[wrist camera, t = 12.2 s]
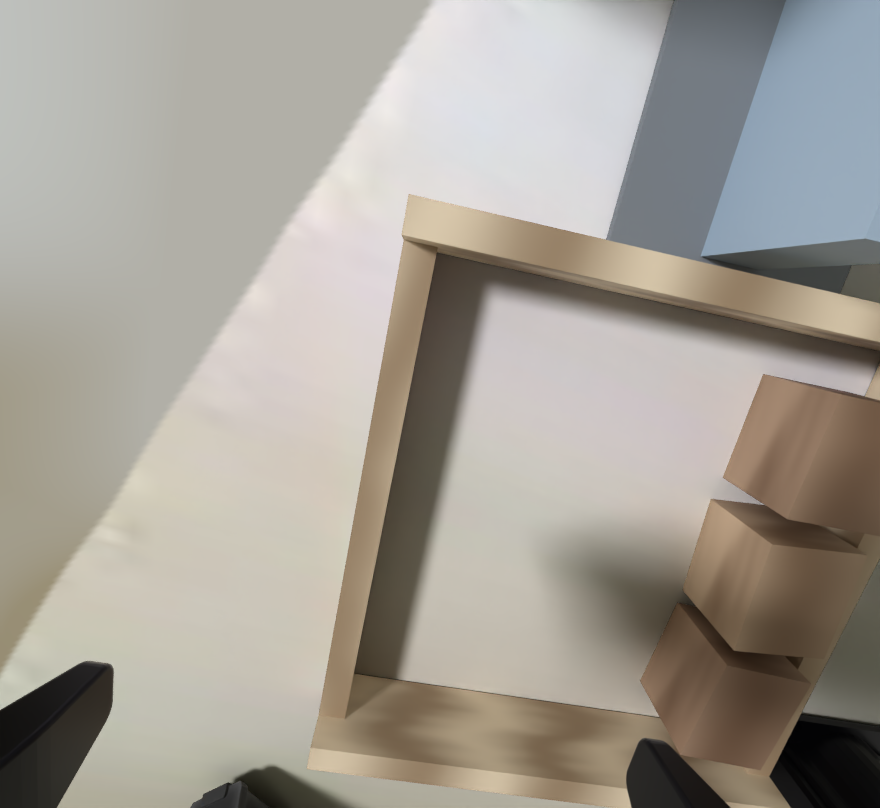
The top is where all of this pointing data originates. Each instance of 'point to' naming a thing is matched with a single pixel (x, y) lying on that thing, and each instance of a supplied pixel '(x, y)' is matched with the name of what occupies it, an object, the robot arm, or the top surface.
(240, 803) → the magazine
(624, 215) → the mat
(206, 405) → the top surface
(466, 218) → the frame
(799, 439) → the offcut
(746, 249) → the light blue rectangular panel
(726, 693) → the offcut
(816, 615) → the offcut
